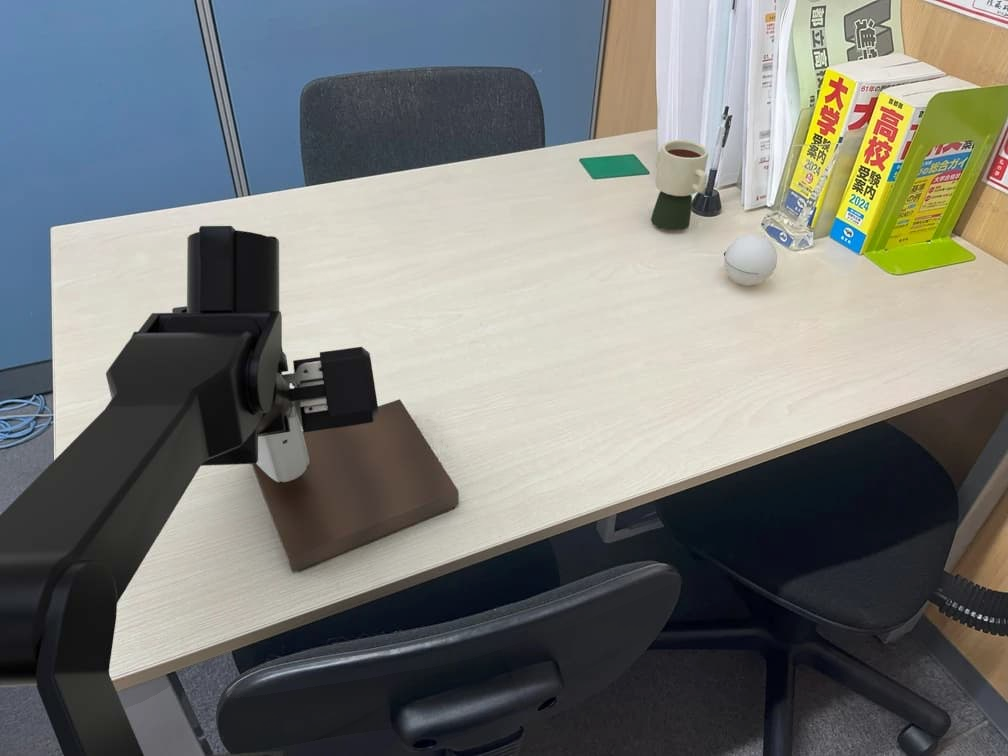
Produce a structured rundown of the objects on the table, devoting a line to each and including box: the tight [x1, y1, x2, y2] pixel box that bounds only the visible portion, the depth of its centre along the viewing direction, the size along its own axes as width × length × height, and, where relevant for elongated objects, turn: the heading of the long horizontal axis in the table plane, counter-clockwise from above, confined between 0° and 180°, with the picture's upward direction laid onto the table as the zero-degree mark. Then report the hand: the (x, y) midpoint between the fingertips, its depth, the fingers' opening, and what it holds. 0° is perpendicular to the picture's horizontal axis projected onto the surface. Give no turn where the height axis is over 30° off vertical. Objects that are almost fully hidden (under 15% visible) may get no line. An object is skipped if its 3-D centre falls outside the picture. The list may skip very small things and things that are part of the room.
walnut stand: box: [250, 399, 460, 573], centre depth 73 cm, size 17×15×2 cm
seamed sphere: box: [719, 233, 778, 287], centre depth 102 cm, size 10×7×7 cm
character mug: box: [650, 139, 709, 231], centre depth 113 cm, size 11×7×13 cm, turn 31°
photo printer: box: [256, 385, 309, 482], centre depth 67 cm, size 10×4×12 cm, turn 45°
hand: (268, 406), depth 64 cm, fingers closed on photo printer, 5 cm apart
